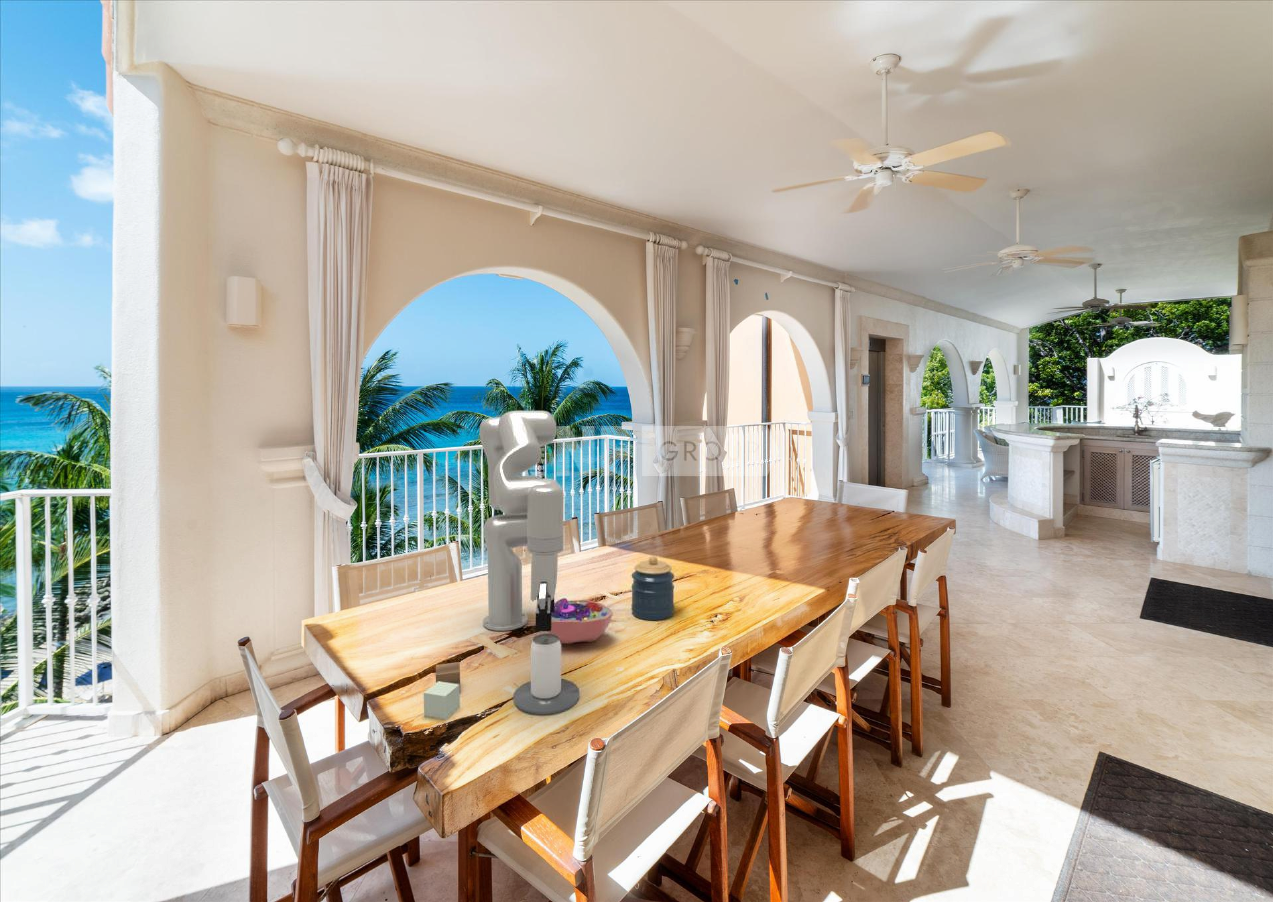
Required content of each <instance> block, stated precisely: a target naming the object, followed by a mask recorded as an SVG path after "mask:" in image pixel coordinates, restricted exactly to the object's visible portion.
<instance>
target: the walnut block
mask: <svg viewBox="0 0 1273 902" xmlns="http://www.w3.org/2000/svg"><path fill="white" fill-rule="evenodd" d="M438 681H440V682H447V683H453V684H459V688H460V689H461V668H460V661H457V662H449V663H441V664H436V665H435V684H436V683H437V682H438Z"/></svg>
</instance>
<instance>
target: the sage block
mask: <svg viewBox="0 0 1273 902" xmlns="http://www.w3.org/2000/svg"><path fill="white" fill-rule="evenodd" d="M460 694H461V687H460V688H459V684H453V683H447V682H440V681H438V682H437V683H436V682H435V684H433V685H432V686H430V687H429V688H428V689H427V690H426V691H424V692H423V716H424V717H426V716H427V718H432V717H435V718H434V719H437V720H438V719H440V720H444V721H446V720H447V719H448V718H450V717H451V716H452V715H453V714H454V713H455V712H456V711H458V709H460V708H461V701H460V698H461V695H460Z"/></svg>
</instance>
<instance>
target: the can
mask: <svg viewBox="0 0 1273 902" xmlns="http://www.w3.org/2000/svg"><path fill="white" fill-rule="evenodd" d="M561 678H562V643H560V641H559V637H558V636H557V635H555V634H550V633H548V632H546V633H540V634H537V635H534V637H533V638H532V643H531V644H530V681H531V693H532V695H533V696H534V697H536V698H538V699H550V698H553V697H556V696H557V695H558V694H559V693H560V691H561Z"/></svg>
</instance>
